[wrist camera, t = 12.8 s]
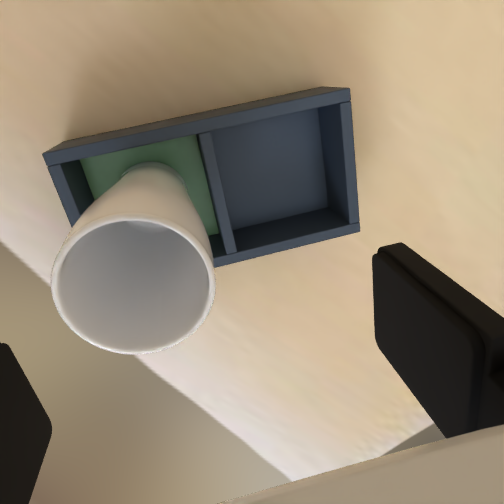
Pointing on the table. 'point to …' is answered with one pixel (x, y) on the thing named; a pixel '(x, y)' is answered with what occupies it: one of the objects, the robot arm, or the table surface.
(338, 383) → the table surface
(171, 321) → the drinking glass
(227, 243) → the glass rack
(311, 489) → the robot arm
